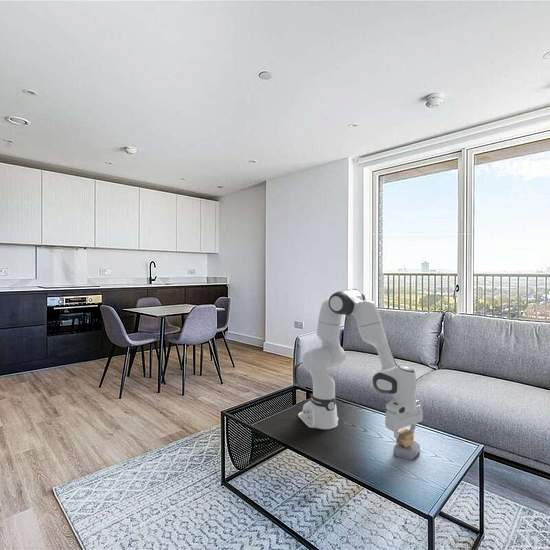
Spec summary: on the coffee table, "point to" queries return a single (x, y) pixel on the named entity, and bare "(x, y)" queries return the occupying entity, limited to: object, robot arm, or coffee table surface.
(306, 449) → the coffee table surface
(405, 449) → the stone block
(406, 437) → the oak cube
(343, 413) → the coffee table surface
